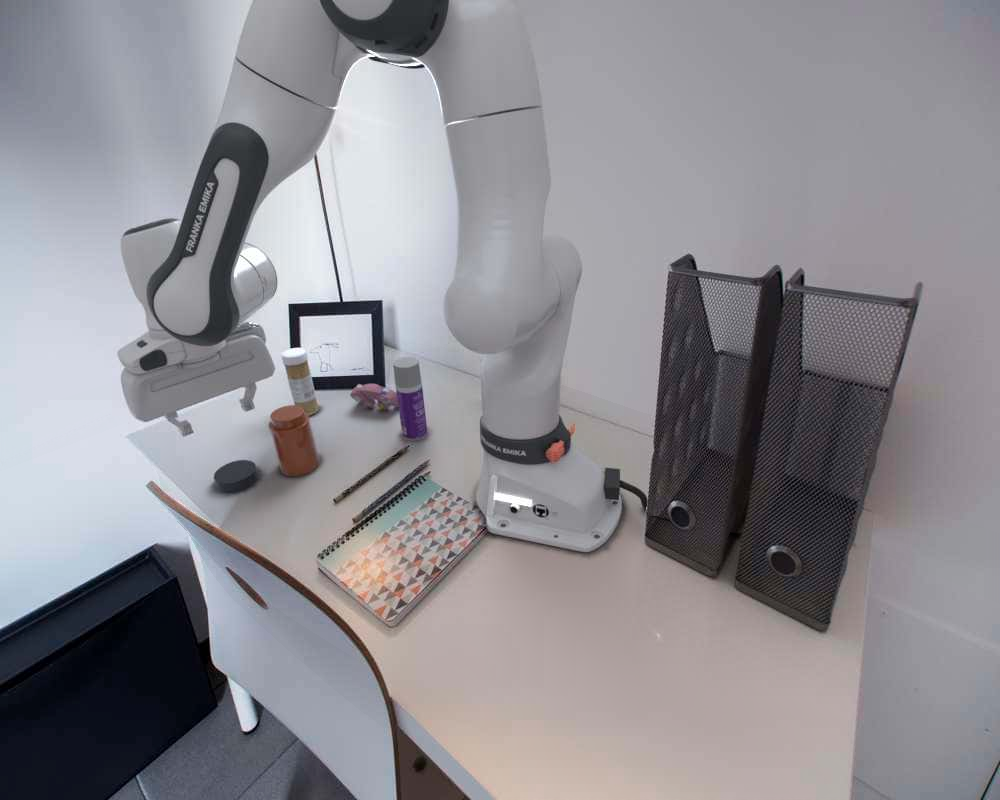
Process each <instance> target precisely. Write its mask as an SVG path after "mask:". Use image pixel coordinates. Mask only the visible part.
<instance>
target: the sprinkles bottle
mask: <svg viewBox="0 0 1000 800" xmlns="http://www.w3.org/2000/svg"><path fill="white" fill-rule="evenodd" d="M280 355H281V360H282V363H283V366H284V368H285V372H286V376H287V381H288V386H289V390H290V394H291V398H292V400H293V405H296V406H300V407H302V408H303V409H304V411H305V413H306V414H307V415H308V416H309V417H310V416H313V415H315V414H317V412H319V409H320V407H319V405H318V401H317V397H316V391H315V386H314V382H313V377H312V374H311V371H310V370H311V369H310V366H309V362H308V361H309V357H308V354H307V350H306V349H305V348H304V347H292V348H288V349H286V350H284V351H282V353H281V354H280Z"/></svg>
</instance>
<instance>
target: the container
mask: <svg viewBox="0 0 1000 800" xmlns="http://www.w3.org/2000/svg"><path fill="white" fill-rule="evenodd" d="M392 367H393V377H394V384H395V392H396V393H397V400H398V406H397V407H398V413H399V420H400V427H401V435H402V438H403V439H404V440H406V441H408V442H417V441H421V440H423V439H425V438H426V437H427V436H428V426H427V417H426V416H427V415H426V408H425V397H424V390H423V389H424V388H423V382H422V375H421V368H420V362H419V359H418V358H416V357H413V356H404V357H403V356H402V357H399V358H397V359H395V360H394V361H393V362H392Z"/></svg>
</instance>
